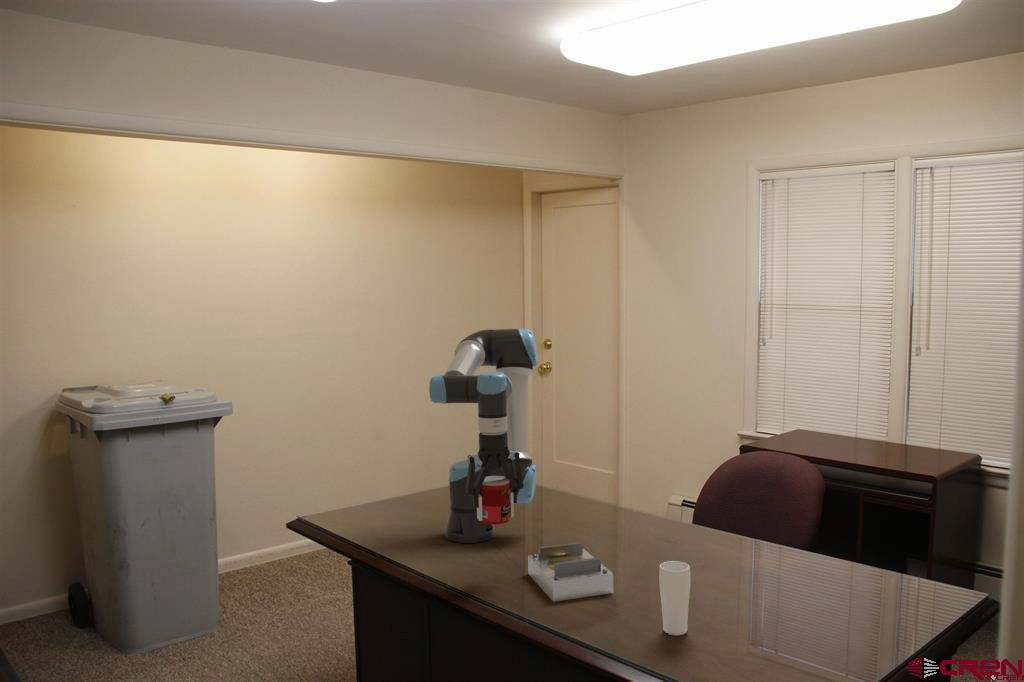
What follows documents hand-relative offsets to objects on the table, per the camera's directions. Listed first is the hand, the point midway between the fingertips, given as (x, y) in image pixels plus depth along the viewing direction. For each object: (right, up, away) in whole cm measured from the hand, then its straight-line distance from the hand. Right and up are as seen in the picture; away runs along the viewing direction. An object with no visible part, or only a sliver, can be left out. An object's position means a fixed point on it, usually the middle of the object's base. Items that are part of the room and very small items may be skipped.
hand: (495, 517), depth 217 cm
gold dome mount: (+19, -16, -3) cm, 25 cm away
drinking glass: (+41, -19, -33) cm, 55 cm away
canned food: (0, -1, 0) cm, 1 cm away
